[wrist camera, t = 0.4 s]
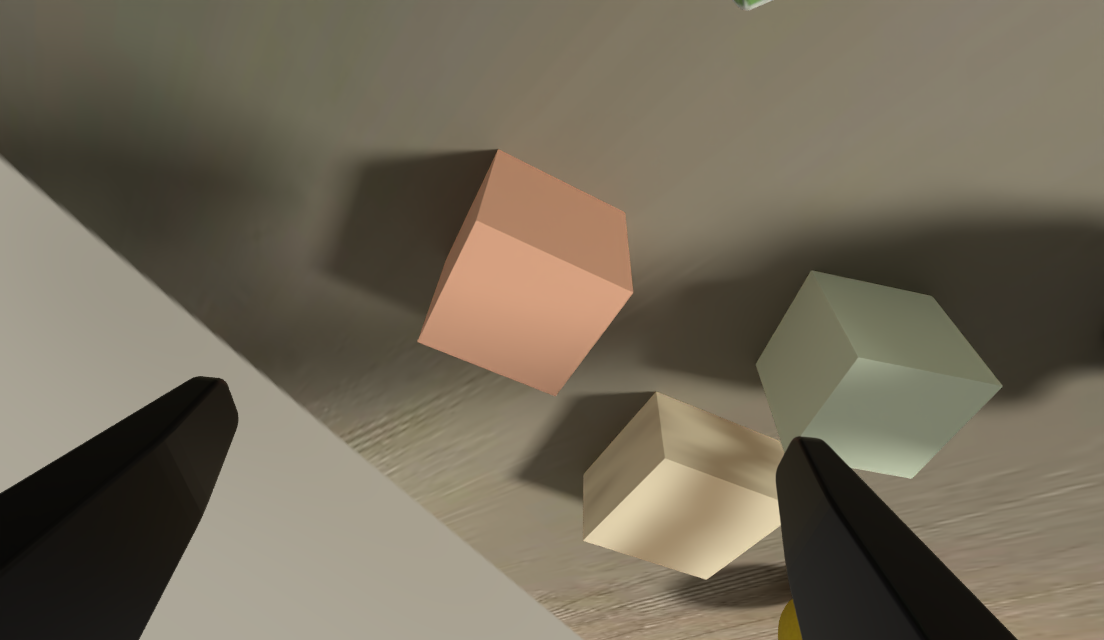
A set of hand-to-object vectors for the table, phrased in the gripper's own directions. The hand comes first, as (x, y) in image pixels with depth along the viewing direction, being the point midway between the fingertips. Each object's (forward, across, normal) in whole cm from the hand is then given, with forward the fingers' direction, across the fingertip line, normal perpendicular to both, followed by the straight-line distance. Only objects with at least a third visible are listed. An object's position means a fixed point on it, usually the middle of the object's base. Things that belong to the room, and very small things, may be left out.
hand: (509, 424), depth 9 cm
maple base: (+13, -8, +16) cm, 22 cm away
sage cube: (+13, -12, +7) cm, 19 cm away
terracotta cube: (+13, 0, +4) cm, 13 cm away
